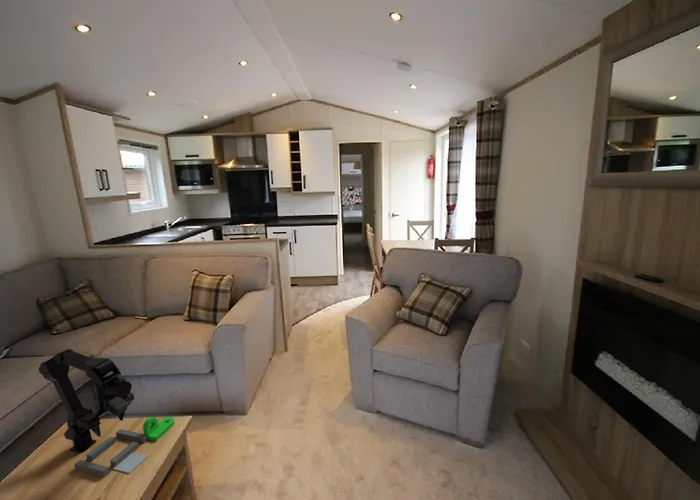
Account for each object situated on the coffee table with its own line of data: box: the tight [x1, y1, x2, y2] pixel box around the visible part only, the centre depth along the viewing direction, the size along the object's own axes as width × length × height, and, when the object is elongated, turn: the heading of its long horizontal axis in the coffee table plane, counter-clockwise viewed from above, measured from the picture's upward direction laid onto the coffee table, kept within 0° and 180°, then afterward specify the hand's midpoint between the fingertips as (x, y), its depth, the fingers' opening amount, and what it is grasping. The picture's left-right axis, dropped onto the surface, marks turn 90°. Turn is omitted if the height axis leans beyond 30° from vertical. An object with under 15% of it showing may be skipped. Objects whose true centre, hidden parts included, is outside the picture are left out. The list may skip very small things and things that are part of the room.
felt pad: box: [112, 452, 149, 475], centre depth 129 cm, size 8×8×1 cm
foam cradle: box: [73, 429, 149, 478], centre depth 134 cm, size 14×19×2 cm
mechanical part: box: [142, 416, 175, 442], centre depth 146 cm, size 12×6×8 cm, turn 167°
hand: (110, 428), depth 132 cm, fingers open, 9 cm apart
